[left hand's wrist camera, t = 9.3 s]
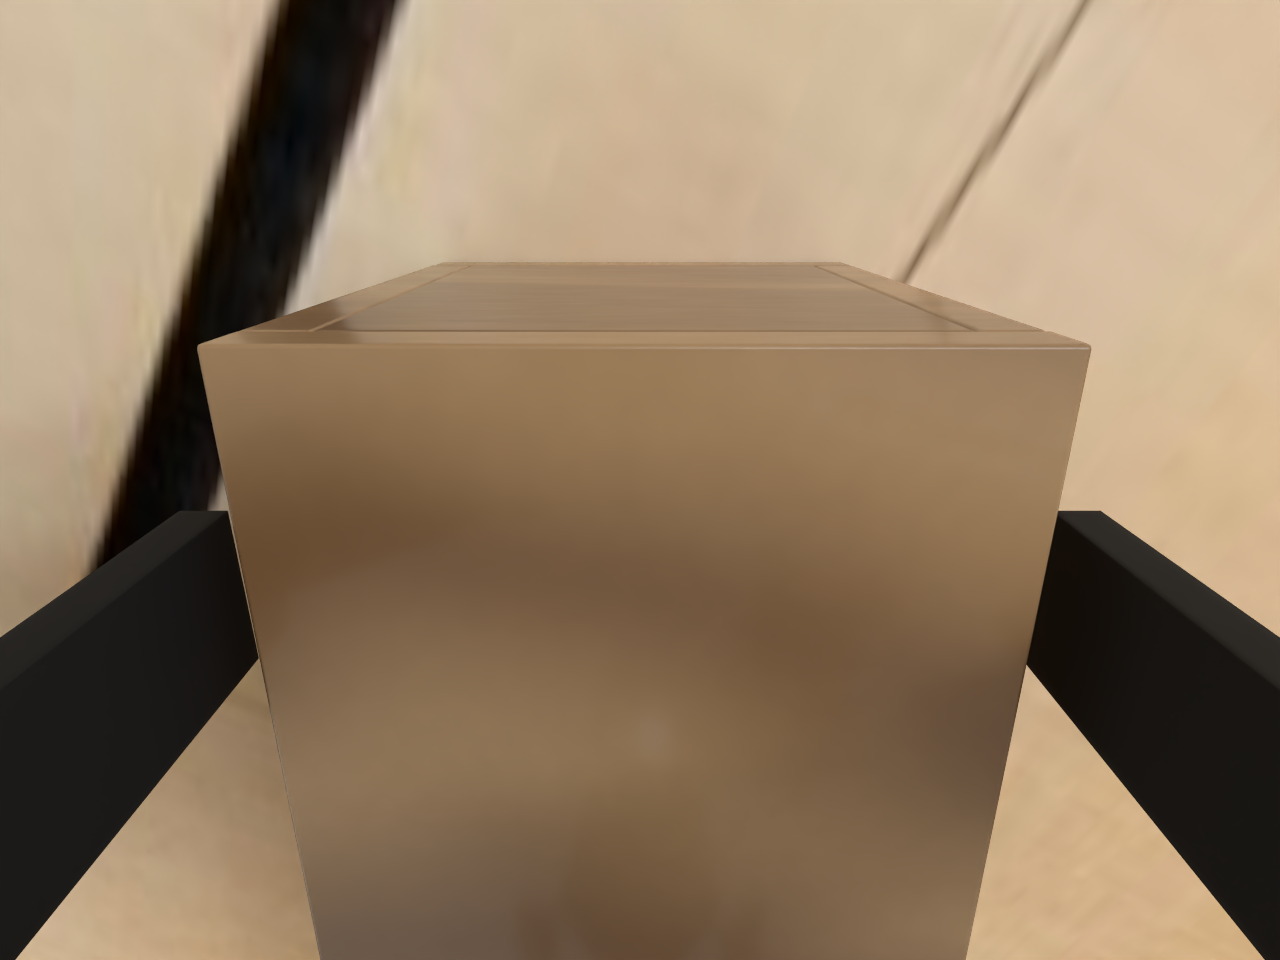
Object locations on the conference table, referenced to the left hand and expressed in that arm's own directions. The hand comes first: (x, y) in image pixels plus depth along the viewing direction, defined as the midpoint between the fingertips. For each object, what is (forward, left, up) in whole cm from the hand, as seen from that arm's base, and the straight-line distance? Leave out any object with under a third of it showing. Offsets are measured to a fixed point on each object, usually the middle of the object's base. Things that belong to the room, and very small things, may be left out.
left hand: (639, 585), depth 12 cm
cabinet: (+5, -2, -8) cm, 10 cm away
